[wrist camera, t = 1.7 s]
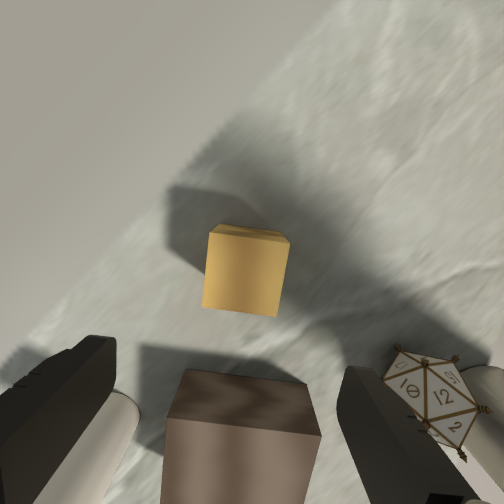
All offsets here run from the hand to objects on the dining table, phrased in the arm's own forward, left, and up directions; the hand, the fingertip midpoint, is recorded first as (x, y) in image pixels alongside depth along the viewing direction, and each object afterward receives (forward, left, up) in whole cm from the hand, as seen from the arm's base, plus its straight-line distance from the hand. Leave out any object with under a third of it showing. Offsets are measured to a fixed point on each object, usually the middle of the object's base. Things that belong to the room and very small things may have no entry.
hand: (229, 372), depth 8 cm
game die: (-19, +10, -16) cm, 27 cm away
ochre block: (0, 0, -16) cm, 16 cm away
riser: (-2, +21, -16) cm, 26 cm away
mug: (+13, +23, -16) cm, 31 cm away
